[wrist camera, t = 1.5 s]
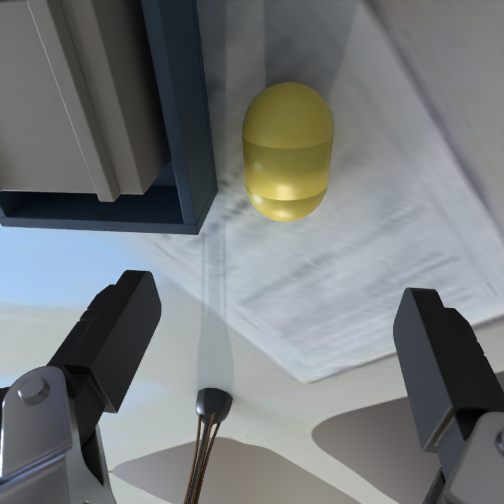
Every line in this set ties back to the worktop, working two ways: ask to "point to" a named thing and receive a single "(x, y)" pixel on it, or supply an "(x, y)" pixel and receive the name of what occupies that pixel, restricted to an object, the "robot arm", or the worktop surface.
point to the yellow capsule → (287, 150)
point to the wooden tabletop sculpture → (206, 434)
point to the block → (78, 99)
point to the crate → (179, 138)
